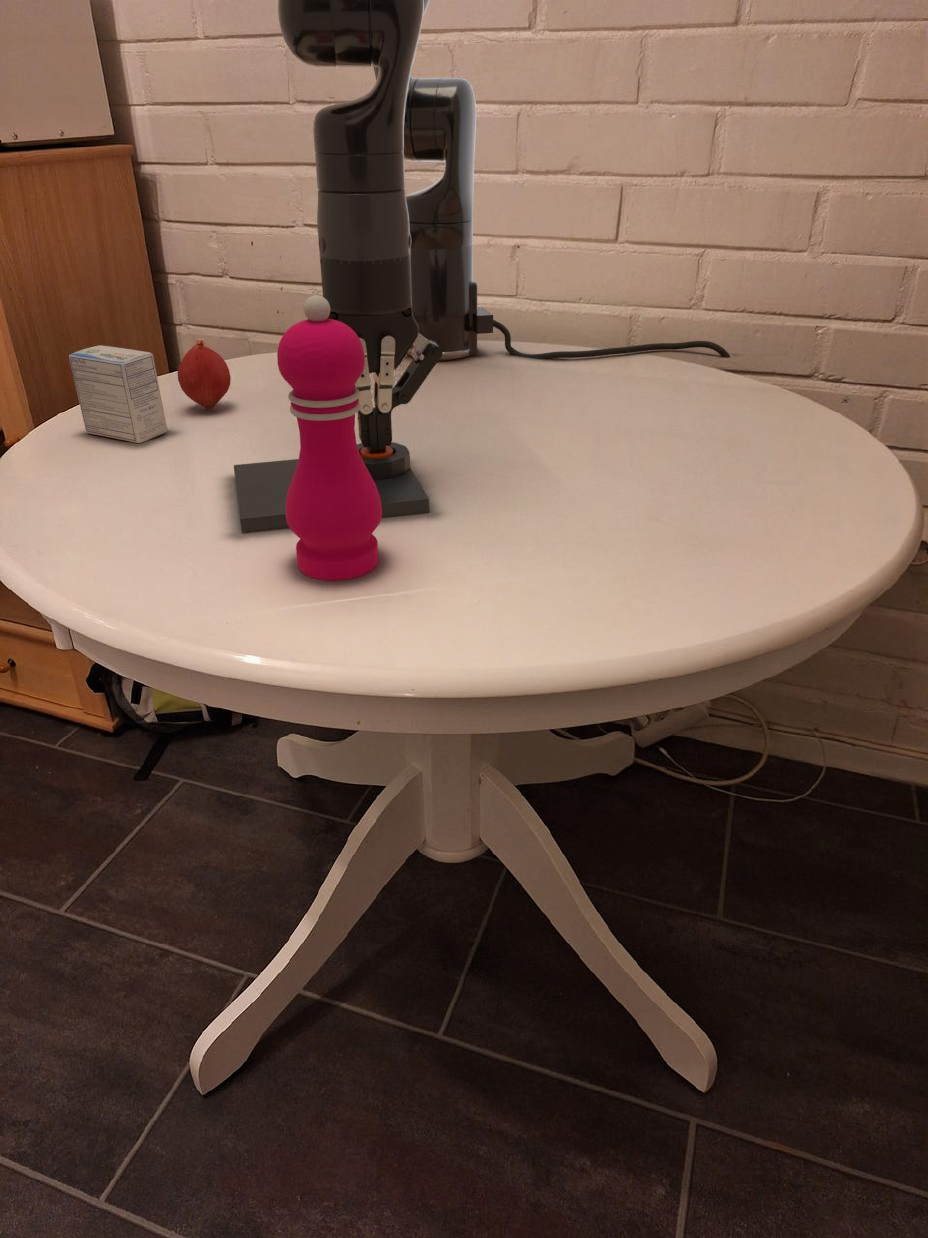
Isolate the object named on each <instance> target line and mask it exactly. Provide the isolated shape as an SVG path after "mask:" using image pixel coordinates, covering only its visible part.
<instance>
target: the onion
mask: <svg viewBox="0 0 928 1238" xmlns="http://www.w3.org/2000/svg"><path fill="white" fill-rule="evenodd" d="M231 377H232V376H231V373H230V369H229V366H228V364H227V362H226V361H225V359H224V358H223V357H222V355H220V354H219V353H218V352H216V351H215V350H213V349H212V348H209V346H207V345H206V343H205V339H203V338H198V339H197V340H196V343H195V344H194V345H193V346H192V347H191V348H190V349H189V350H188V351H187V352H186V353H185V354H184V356H183V358H182V360H181V362H180V364H179V365H178V368H177V381H178V383H179V386H180V388H181V390H182V392H183V393H184V395H185V396H186V397H188V399H190V400H191V401H193V402H195V403H196V404H198V405H200V406H201V407H203V408H204V409H206V410H213V409H214V408H215V407H216V406H217V404H218V403H219V402H220V401H221V400H222V398H224V396H225V395H226V394H227V393H228V391H229V390H230V387H231Z"/></svg>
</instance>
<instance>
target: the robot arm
mask: <svg viewBox="0 0 928 1238" xmlns="http://www.w3.org/2000/svg"><path fill="white" fill-rule="evenodd" d="M430 1H431V0H277V15H278V22H279V27H280V32H281V35H282V36H283V40H284V42H285V44H286V45H287V47H288V49H289V50H290V52H291V53H292V54H293V55H294V56H295V57H296V59H298V60H299V61H300V62H302V63H303V64H305V65H307V66H312V67H317V68H336V67H339V68H342V67H343V68H344V67H345V68H346V67H349V68H350V67H351V68H357V67H358V68H371V67H373V72H374V76H375V83H374V85H373V87H372V88H371V90H370V91H369V92H367V93H366V94H364V95H363V96H360V97H358V98H355V99H351V100H348V101H347V100H346V101H343V102H338V103H335V104H331V105H328V106H325V107H322V108H320V109H319V110H318V111H317V112H316V114H315V116H314V120H313V145H314V157H315V172H316V184H317V189H318V190H317V209H316V210H317V212H316V213H317V214H316V223H317V226H316V227H317V238H318V251H319V252H318V253H319V265H320V266H319V267H320V279H321V289H322V297H324V298H325V299H326V300H327V301H328V303H329V305H330V315H329V317H328V319H333V320H337V321H340V322H342V323H344V324H346V325H348V326H349V327H350V328H351V329H352V330H353V331H354V332H355V333H356V334H357V335H358V337H359V339H360V341H361V343H362V346H363V350H364V356H365V367H364V370H363V373H362V374H361V376H360V377H359V379H358V380H357V382H356V383H355V385H354V387H356V388H357V389H358V390H359V392H360V396H359V398H358V399H359V402H360V404H361V408H360V410H359V412H357V424H358V425H357V427H358V439H359V440H360V443H362V444H363V446H364V448H366V447H367V449H368V451H369V453H380V452H386V446H388V445H391V442H393V428H392V412H393V410H394V409H395V408H397V407H398V406H399V407H400V406H402V405H407V404H409V403H410V402H411V401H412V399H413V398H414V396H415V395H416V393H417V392H418V391H419V389H420V388H421V387H422V385H423V383H424V382H425V381H426V380H427V377H428V376H429V375H430V373H431V372H432V370H433V369H434V368H435V366H436V365H437V364H438V362H439V361H447V360H448V361H449V360H457V359H462V358H467V357H469V356H477V355H478V335H483V334H484V335H485V334H494V328H495V329H497V330H499V332H501V334H502V335H503V336H504V347H505V350H506V351H507V352H508V353H509V354H510V355H511V356H513V357H514V356H515V357H522V358H527V359H535V360H536V359H537V360H553V359H577V358H578V359H580V358H581V359H582V358H592V357H594V358H595V357H603V356H612V355H613V356H614V355H623V354H632V353H639V352H648V351H661V350H662V351H663V350H664V351H665V350H669V351H670V350H671V351H672V350H685V349H693V348H694V349H695V348H706V349H710V350H713V351H715V352H716V353H718V354H719V355H720V356H721V357H722V358H726V359H729V358H731V355H730V353H729V352H728V351H727V350H726V349H725V348H724V347H722V346H721V345H719V344H717V343H715V342H713V341H708V340H692V341H684V342H683V341H682V342H668V343H667V342H661V343H658V342H657V343H646V344H638V345H630V346H621V347H609V348H601V349H600V348H599V349H589V350H571V351H570V350H568V351H567V350H566V351H565V350H564V351H563V350H561V351H560V350H559V351H550V352H543V353H534V354H528V353H522V352H521V351H518V350H517V349H515V348H514V347H513V346H512V336H511V333H510V330H509V328H507V327H506V326H505V325H504V324H503V323H501V322H500V321H497V320H495V319H494V314H493V313H492V312H490V311H488V310H487V309H486V308H485V307H483V306H482V307H481V306H480V307H478V283H477V282H476V281H475V280H474V220H473V219H474V192H475V191H474V190H475V155H476V153H475V150H476V136H477V134H476V133H477V102H476V96H475V92H474V88H473V86H472V84H471V83H470V81H468V80H467V79H465V78H462V77H413V75H412V71H413V67H414V63H415V58H416V54H417V49H418V45H419V42H420V41H419V40H420V38H421V37H420V36H421V31H422V26H423V21H424V17H425V15H426V13H427V9H428V7H429V4H430ZM405 161H408V162H415V163H416V162H417V163H419V162H420V163H421V162H422V163H426V162H427V163H444V164H445V165H444V171H443V174H442V176H440V178H439V179H438V180H436V181H435V182H434V183H433V184H431V185H429V186H427V187H425V188H423V189H420V190H418V191H414V192H411V193H409V194H407V193H406V189H405V188H406V166H405ZM406 194H407V195H406ZM407 354H408V355H409V356H410V357H412V360H411V361H410V363H409V364H408V366H407V367H406V369H405V370H404V372H403V373H402V375H401V376H400V378H399V379H398V380H397V382H396V383H394V379H395V378H394V377H395V370H397V368H399V366H400V365H401V364H402V362H403V360H404V359H405V357H406V355H407ZM370 374H372V376H373V397H372V384H371V376H370ZM373 403H374V405H373Z"/></svg>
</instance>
